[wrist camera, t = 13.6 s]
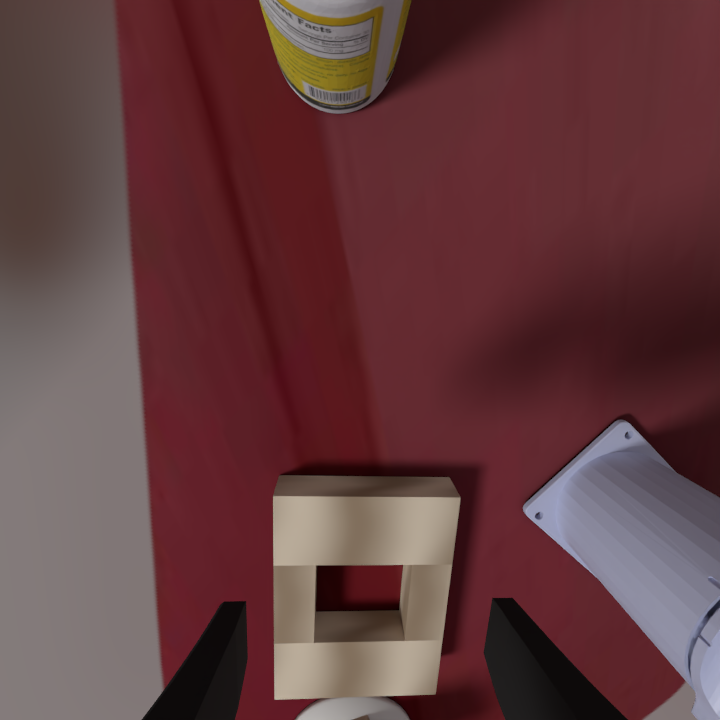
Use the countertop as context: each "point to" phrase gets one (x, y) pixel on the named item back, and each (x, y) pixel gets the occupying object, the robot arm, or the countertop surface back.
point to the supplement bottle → (336, 48)
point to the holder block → (361, 547)
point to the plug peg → (362, 718)
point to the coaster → (353, 709)
